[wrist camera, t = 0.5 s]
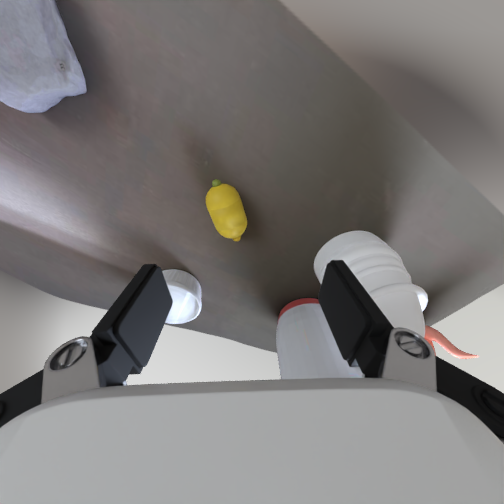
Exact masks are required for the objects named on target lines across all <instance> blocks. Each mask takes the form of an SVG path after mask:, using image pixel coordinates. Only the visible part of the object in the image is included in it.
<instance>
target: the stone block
mask: <svg viewBox="0 0 504 504" xmlns="http://www.w3.org/2000/svg"><path fill="white" fill-rule="evenodd" d="M85 92H87V89H86V82H85V78H84V75H83V72H82V69H81V65H80V63H79V62H78V59H77V57H76V54H75V52H74V49H73V47H72V45H71V43H70V41H69V39H68V36H67V31H66V29H65V26H64V22H63V20H62V17H61V15H60V12H59V10H58V7H57V4H56V1H55V0H0V101H2V102H3V103H4V104H6V105H8V106H10V107H12V108H15V109H18V110H20V111H23V112H26V113H37V112H45V111H47V110H48V109H50V107H52V106H54V105H56V104H58V103H59V102H60V101H61V99H63V98H64V97H66V96H76V95H79V94H84V93H85Z"/></svg>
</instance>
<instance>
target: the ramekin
mask: <svg viewBox="0 0 504 504" xmlns="http://www.w3.org/2000/svg"><path fill="white" fill-rule="evenodd" d="M162 273H163V275H164V278H165V281H166V283H167V286H168V289H169V291H170V294H171V297H172V300H173V304H172V307H171V310H170V312H169V314H168V317H167V319H166V321H165V323H171V324H178V323H185V322H188V321H191V320H193V319H194V318H196V317H197V316H198V315H199V313H200V311H201V307H202V303H201V287H200V284H199V282H198V281H197V279H196V278H195V277H194V276H192V275H191V274H189V273H187V272H185V271H182V270H177V269H169V270H164V271H162Z"/></svg>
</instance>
